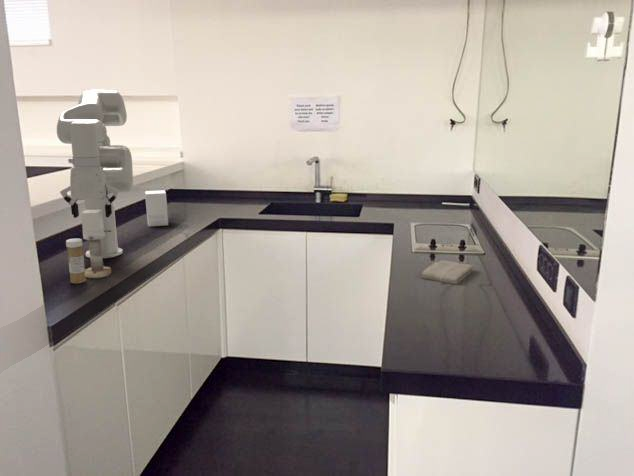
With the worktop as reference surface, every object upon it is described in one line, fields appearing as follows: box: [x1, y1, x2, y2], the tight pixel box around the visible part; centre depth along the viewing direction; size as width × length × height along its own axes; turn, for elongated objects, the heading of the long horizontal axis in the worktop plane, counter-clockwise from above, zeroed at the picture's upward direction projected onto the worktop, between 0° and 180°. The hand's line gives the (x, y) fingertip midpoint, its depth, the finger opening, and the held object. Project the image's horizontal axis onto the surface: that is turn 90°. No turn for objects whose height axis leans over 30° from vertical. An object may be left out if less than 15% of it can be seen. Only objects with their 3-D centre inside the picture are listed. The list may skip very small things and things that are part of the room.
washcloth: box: [421, 259, 474, 285], centre depth 175 cm, size 12×18×3 cm, turn 148°
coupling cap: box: [80, 209, 112, 241], centre depth 169 cm, size 9×8×8 cm
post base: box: [85, 239, 112, 279], centre depth 172 cm, size 8×8×12 cm
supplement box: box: [144, 189, 169, 227], centre depth 243 cm, size 9×9×15 cm
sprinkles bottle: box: [65, 237, 87, 284], centre depth 164 cm, size 5×5×13 cm
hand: (92, 216), depth 169 cm, fingers open, 9 cm apart
